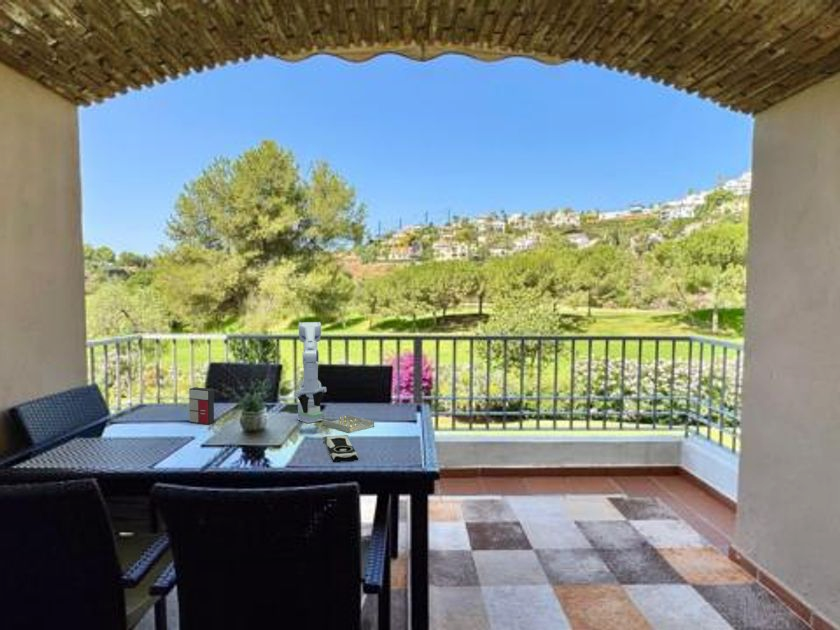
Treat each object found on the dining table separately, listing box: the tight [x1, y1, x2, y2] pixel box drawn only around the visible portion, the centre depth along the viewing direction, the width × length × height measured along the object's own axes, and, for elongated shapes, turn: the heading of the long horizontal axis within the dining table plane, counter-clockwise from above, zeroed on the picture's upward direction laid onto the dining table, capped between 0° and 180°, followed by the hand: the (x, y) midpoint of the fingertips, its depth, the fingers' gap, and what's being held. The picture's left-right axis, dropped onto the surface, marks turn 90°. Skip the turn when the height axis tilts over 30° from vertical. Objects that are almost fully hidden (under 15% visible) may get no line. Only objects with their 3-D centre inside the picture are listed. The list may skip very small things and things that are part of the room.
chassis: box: [321, 413, 375, 434], centre depth 246 cm, size 18×14×3 cm
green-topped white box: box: [299, 404, 324, 418], centre depth 237 cm, size 10×5×4 cm, turn 46°
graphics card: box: [322, 434, 359, 463], centre depth 210 cm, size 10×3×25 cm
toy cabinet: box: [188, 386, 216, 425], centre depth 250 cm, size 11×4×15 cm, turn 68°
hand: (310, 411), depth 237 cm, fingers closed on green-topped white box, 5 cm apart
